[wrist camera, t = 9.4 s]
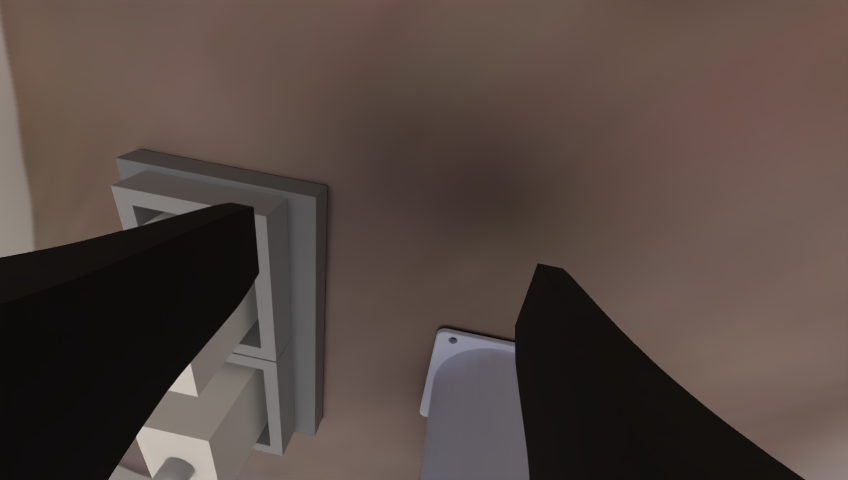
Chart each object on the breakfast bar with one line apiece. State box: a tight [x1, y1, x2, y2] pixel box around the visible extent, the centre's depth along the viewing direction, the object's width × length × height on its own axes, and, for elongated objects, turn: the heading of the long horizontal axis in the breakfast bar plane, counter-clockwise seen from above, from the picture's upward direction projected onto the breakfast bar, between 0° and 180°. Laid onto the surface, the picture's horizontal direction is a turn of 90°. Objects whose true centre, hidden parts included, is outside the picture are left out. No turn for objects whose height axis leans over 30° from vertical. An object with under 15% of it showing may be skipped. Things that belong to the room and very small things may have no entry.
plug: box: [144, 212, 258, 397], centre depth 18 cm, size 4×6×7 cm, turn 171°
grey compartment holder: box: [111, 149, 327, 480], centre depth 21 cm, size 10×19×8 cm, turn 171°
